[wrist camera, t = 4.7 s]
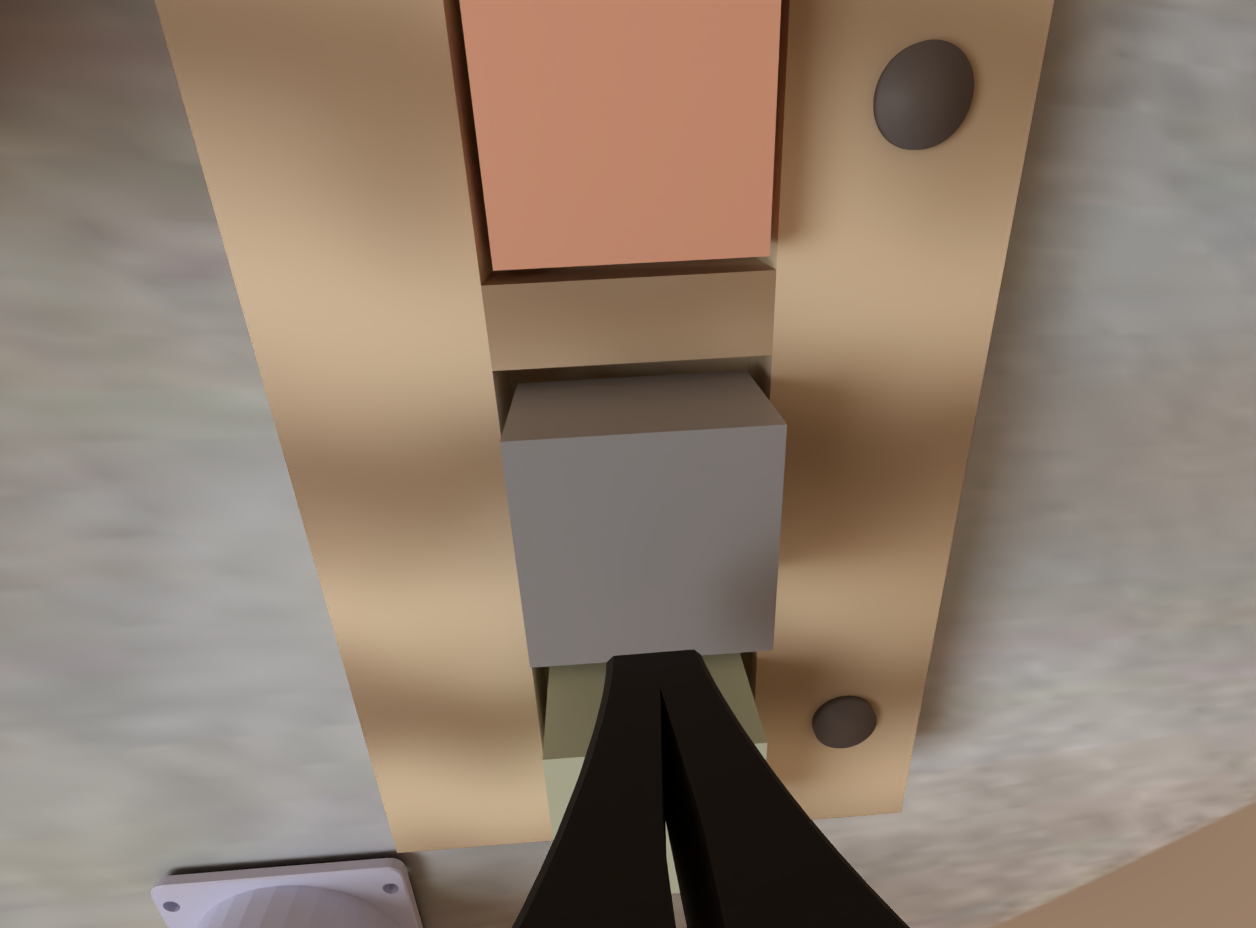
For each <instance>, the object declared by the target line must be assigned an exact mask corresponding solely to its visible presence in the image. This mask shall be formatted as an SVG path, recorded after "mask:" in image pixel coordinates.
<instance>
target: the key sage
mask: <svg viewBox="0 0 1256 928" xmlns="http://www.w3.org/2000/svg"><path fill="white" fill-rule="evenodd" d="M702 658H703V660H704V662H705V664H706V666H707V668H708V670H709V672H710V674H711V676H712V678H713V679H714V681H715V683H716V685H717V687H718V688H719V690H720V692H721V693H722V695H723V697H724V698H725V700H726V702H727V703H728V705H729V707H730V708H731V710H732V711H733V713H734V715H735V716H736V718H737V719H738V721H739V722H740V724H741V725H742V727H743V728H744V730H745V731H746V733H747V734H748V736H749V737H750V739H751V740H752V741H753V743H754V744H755V746H756V747H757V749H758V750H759V751H760V753H761V754H762V756H763V757H764V759H765V760H766V757H767V740H766V737H765V733H764V730H763V727H762V724H761V720H760V717H759V714H758V711H757V707H756V704H755V701H754V698H753V694H752V691H751V688H750V685H749V681H748V678H747V675H746V672H745V668H744V665H743V662H742V659H741V655H740V653H729V654H715V655H702ZM605 676H606V662H604V663H590V664H576V665H562V666H549V678H548V691H547V705H546V718H545V732H544V745H543V759H542V761H543V768H544V776H545V783H546V790H547V798H548V805H549V813H550V820H551V828H552V835H553V840H554V838H555V836H556V833H557V831H558V828H559V826H560V823H561V821H562V818H563V816H564V813H565V811H566V808H567V805H568V803H569V800H570V798H571V795H572V793H573V790H574V788H575V785H576V782H577V780H578V777H579V774H580V771H581V768H582V765H583V762H584V759H585V756H586V752H587V749H588V746H589V743H590V740H591V737H592V734H593V731H594V727H595V723H596V719H597V715H598V712H599V708H600V703H601V699H602V694H603V689H604V683H605ZM666 857H667V865H668V873H669V881H670V888H671V894H674V893H680V890H679V885H678V880H677V875H676V870H675V865H674V860H673V855H672V851H671V846H670V841H669V836H668V831H667V826H666Z"/></svg>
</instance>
